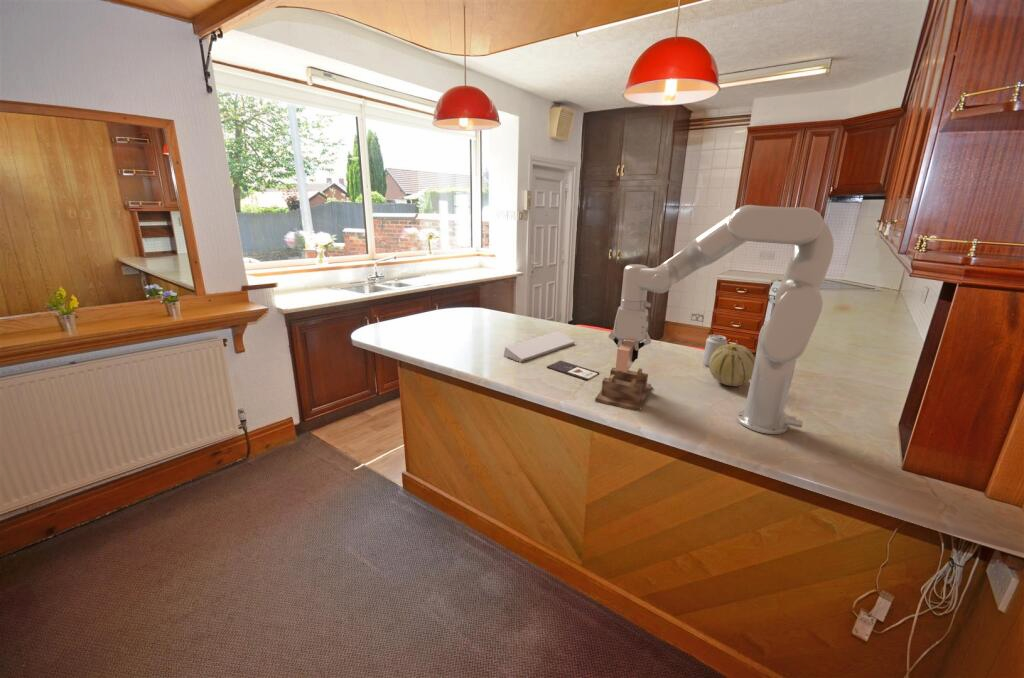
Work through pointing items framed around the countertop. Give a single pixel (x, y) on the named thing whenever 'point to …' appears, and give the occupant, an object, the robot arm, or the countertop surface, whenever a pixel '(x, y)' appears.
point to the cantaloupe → (732, 364)
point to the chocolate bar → (573, 370)
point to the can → (713, 346)
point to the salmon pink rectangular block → (625, 356)
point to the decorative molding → (537, 346)
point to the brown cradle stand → (624, 389)
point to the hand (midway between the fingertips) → (627, 358)
